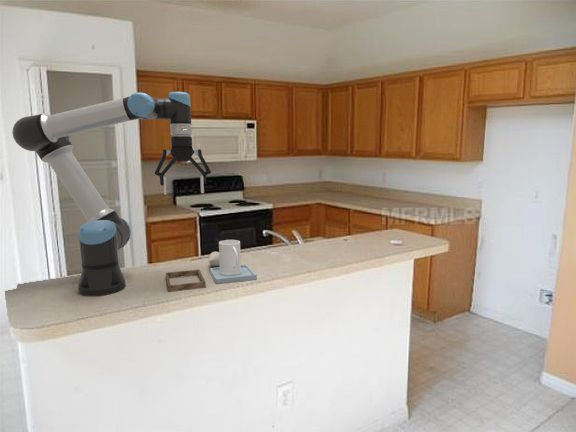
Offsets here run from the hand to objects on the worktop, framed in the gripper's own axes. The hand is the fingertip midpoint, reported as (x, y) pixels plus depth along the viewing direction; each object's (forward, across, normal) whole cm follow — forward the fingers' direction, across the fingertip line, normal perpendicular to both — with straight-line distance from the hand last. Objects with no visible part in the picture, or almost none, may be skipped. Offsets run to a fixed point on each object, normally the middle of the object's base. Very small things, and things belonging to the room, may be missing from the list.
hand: (184, 193), depth 159 cm
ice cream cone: (+32, +12, +8) cm, 35 cm away
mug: (+31, +16, -7) cm, 35 cm away
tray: (+31, +16, -8) cm, 36 cm away
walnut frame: (+32, -2, -9) cm, 33 cm away
